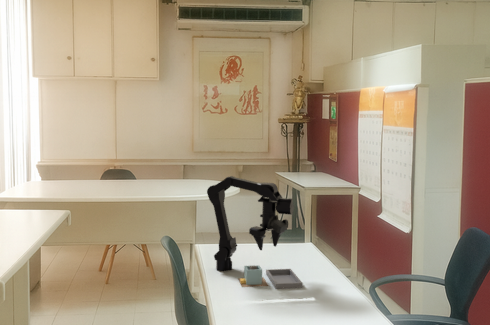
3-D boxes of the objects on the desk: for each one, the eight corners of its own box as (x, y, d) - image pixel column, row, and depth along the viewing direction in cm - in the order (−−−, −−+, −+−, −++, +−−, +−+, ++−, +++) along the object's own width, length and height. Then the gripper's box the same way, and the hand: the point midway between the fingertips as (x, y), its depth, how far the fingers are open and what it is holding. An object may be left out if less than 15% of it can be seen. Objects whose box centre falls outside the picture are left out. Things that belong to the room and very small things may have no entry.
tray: (275, 291, 198) (275, 284, 197) (265, 276, 216) (266, 269, 216) (302, 290, 199) (302, 282, 199) (290, 275, 218) (290, 268, 218)
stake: (241, 289, 199) (242, 271, 199) (237, 280, 210) (238, 263, 209) (268, 288, 201) (268, 270, 200) (263, 279, 212) (263, 262, 211)
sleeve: (241, 285, 202) (241, 270, 201) (239, 280, 208) (239, 266, 207) (262, 284, 203) (262, 269, 202) (259, 279, 209) (259, 265, 209)
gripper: (268, 218, 200) (267, 256, 202) (297, 212, 214) (296, 248, 215) (248, 214, 208) (247, 250, 209) (277, 208, 221) (276, 243, 223)
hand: (268, 248), depth 214 cm, fingers open, 9 cm apart
